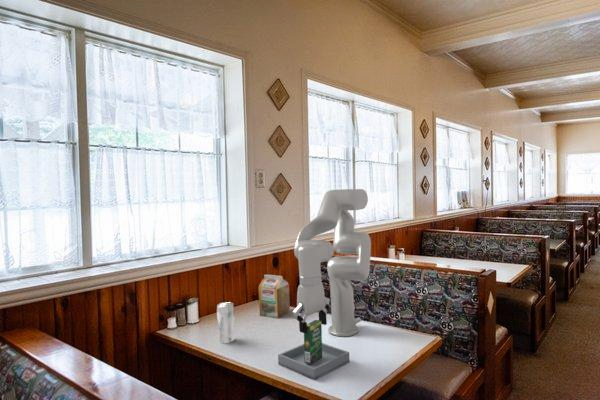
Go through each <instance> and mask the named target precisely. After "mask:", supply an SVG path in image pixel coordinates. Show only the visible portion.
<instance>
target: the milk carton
mask: <svg viewBox="0 0 600 400" xmlns="http://www.w3.org/2000/svg"><path fill="white" fill-rule="evenodd" d="M263 277H264V278H262V279H261V282H260V283H259V285H258V302H259V303H258V304H259V305H258V306H259V307H258V308H259V317H265V318H272V319H280V318H282V317H284V316H285V315H288V314H290V312H291V308H290V307H291V305H290V303H291V302H290V284H289V283H288V281H287V280H286V279H283V276H282V275H275V274H264V276H263Z"/></svg>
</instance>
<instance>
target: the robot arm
mask: <svg viewBox="0 0 600 400" xmlns="http://www.w3.org/2000/svg"><path fill="white" fill-rule="evenodd" d="M368 197H369V196H368V193H367V191H366V190H365V189H363V188H355V189H353V188H347V189H345V188H344V189H331V190H328V191H326V192H325V194H324V195H323V198H322V201H321V203H320V206H319V208H318V213H317V216H316V217H314V218H313V219H312V220H310V221H309V222H307V224H305V225H304V226H303V227H302V228H301V229H300V230H299V233H298V235H297V238H296V241H295V244H294V247H293V251H294V252H293V254H294V257H295V258H296V259H297V260H298V273H299V276H298V277H299V285H298V287H297V291H296V293H297V294H296V308H295V309H294V310H293V311H292V315H293V316H294V319H296V320H297V322H298V326H299V327H298V328H299V332H300V333H303V334H304V333H305V334H306V333H307V324H308V323H307V321H306V320H307V318H308V316H311V315H313V314H317V313H318V320H319V321H321V325H324V326H326V325H327V313H328V309H329V308H330V312H331V313H330V314H331V325H330V326H329V327H328V330H327V331H328V334H330V335H332V336H336V337H351V336H354V335H356V334H358V333H359V332H360V331H359V326H357V323H360V322H361V321H362V318H361V317H357V318H356V317H355V304H354V303H355V302H354V301H355V300H354V299H355V298H354V289H353V286H352V284H351V283H350V281H357V282H358V281H359V282H360V281H366V280H367V279H368V277H369V275H370V268H371V251H372V241H371V237H370V235H369V233H367V232H365V231H358V230H357V231H355V223H356V222H355V219H354V217H353V215H352V214H351V213H350V211H360V210H364V209H365V208H366V207H367V206H368V205H367V204H368V203H369V202H368V201H369V198H368ZM333 230H334V231H333ZM330 231H333V240H332V241H333V242H332V243H331V242H330V241H328V240H322V239H321V240H319V239H317V240H316V239H313V238H315V237H317V236H319V235H322V234H324V233H327V232H330ZM334 253H336V254H342V255H343V256H342V255H341V256H340V255H339V256H334ZM344 255H357V256H344ZM324 262H327V264H326V270H327V274H328V281H329V288H330V289H329V291H330V298H329V297H326V296H325V295H326V294H325V290H324V289H325V288H324V284H323V282H322V277H323V275H322V271H321V269H322V268H321V263H324Z"/></svg>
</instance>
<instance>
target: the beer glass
mask: <svg viewBox="0 0 600 400" xmlns="http://www.w3.org/2000/svg"><path fill="white" fill-rule="evenodd" d="M234 308H235V307H234V303H233V302H230V301H229V302H227V301H224V302H219V303H218V304H217V305H216V319H217V324H218V327H219V333H220V334H219V343H221V344H230V343H233V342H234V341H235V339H236V338H235V335H234V325H235V324H234V323H235V309H234Z"/></svg>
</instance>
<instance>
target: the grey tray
mask: <svg viewBox="0 0 600 400" xmlns="http://www.w3.org/2000/svg"><path fill="white" fill-rule="evenodd" d="M350 362H351V361H350V351H347V350H344V349H342V348H339V347H335V346H332V345H329V344H326V343H324V342H322V357H321V358H320V359H318V360H316V361H315V362H313V363H312V364H308V363H305V361H304V343H302V344H300V345H297V346H295V347H293V348H291V349H289V350H286V351H283V352H281V353H279V354H277V363H278V365H279V366H281V367H283V368H286V369H288V370H290V371H293V372H294V373H298V374H299V375H301V376H304V377H305V378H308V379H311V380H313V381H317V380H318V379H319V378H321V377H323V376H325V375H327V374H329V373H331V372H333V371H336V370H337V369H339V368H341V367H343V366H345V365H347V364H349V363H350Z"/></svg>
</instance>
